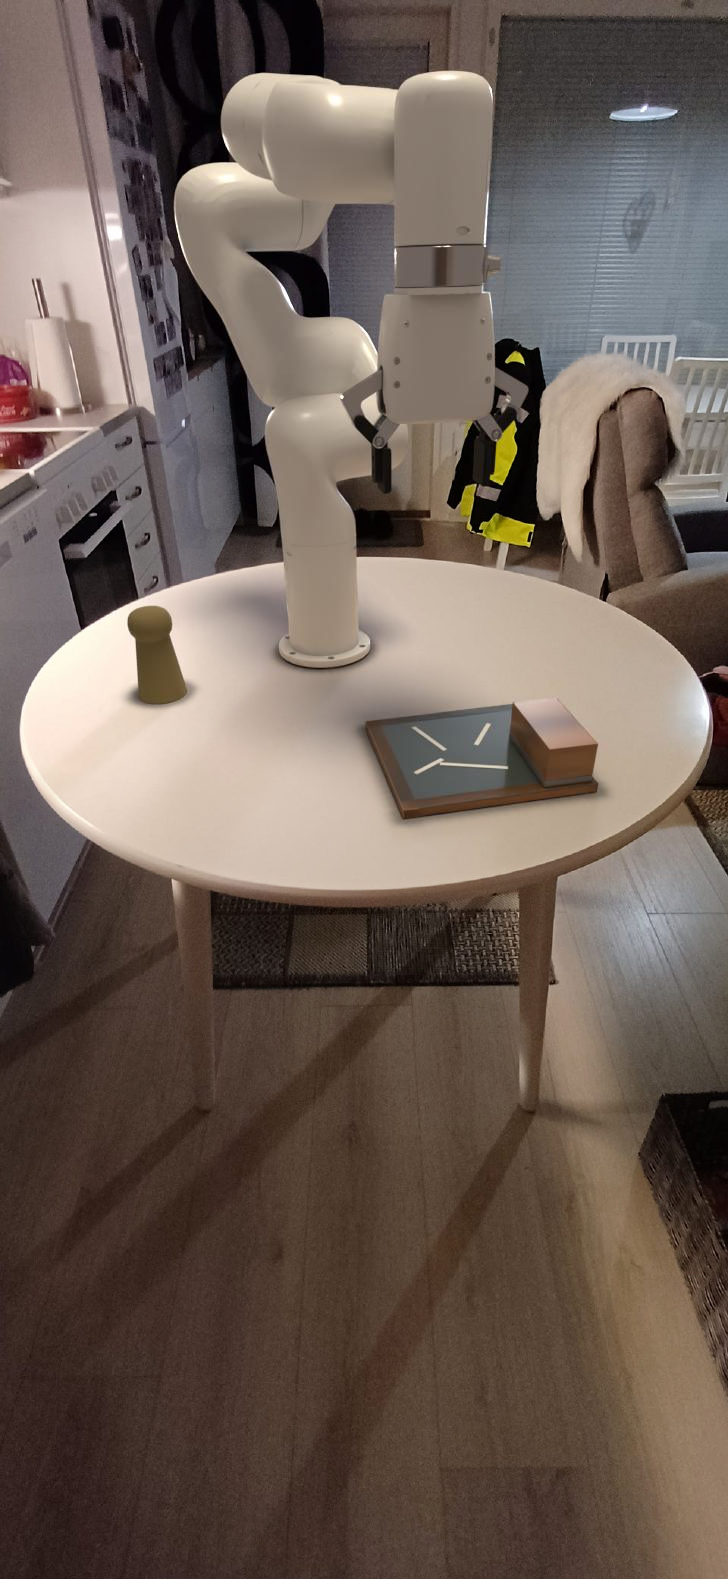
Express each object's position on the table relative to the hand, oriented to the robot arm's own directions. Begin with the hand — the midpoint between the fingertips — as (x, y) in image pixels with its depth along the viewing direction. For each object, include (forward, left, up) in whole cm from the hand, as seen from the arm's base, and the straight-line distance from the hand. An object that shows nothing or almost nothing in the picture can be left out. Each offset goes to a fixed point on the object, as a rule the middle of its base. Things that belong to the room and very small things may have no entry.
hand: (433, 487), depth 74 cm
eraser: (+12, +10, -25) cm, 30 cm away
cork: (-16, -30, -26) cm, 43 cm away
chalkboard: (+8, +3, -26) cm, 28 cm away
